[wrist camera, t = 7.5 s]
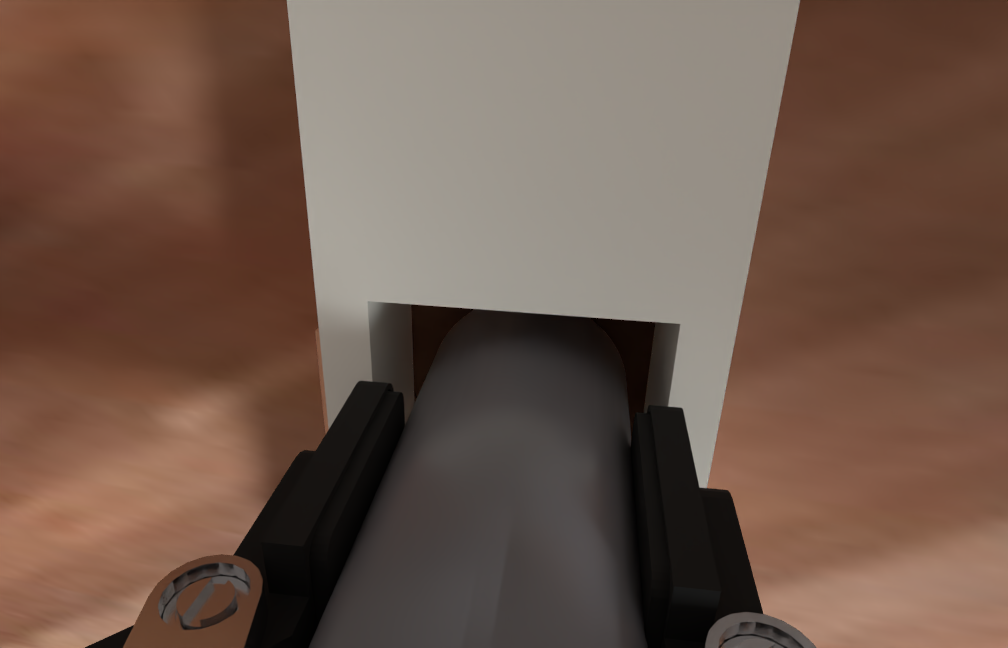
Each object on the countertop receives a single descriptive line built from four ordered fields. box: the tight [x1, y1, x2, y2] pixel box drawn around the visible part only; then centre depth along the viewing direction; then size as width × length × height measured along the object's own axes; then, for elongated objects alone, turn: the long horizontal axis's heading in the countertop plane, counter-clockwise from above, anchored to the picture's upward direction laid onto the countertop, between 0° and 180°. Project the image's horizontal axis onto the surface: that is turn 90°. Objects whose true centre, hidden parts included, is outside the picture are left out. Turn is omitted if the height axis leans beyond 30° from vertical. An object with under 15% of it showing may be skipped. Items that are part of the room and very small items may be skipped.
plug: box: [309, 309, 648, 648], centre depth 9 cm, size 4×4×11 cm
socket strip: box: [287, 0, 800, 488], centre depth 12 cm, size 7×20×3 cm, turn 178°
